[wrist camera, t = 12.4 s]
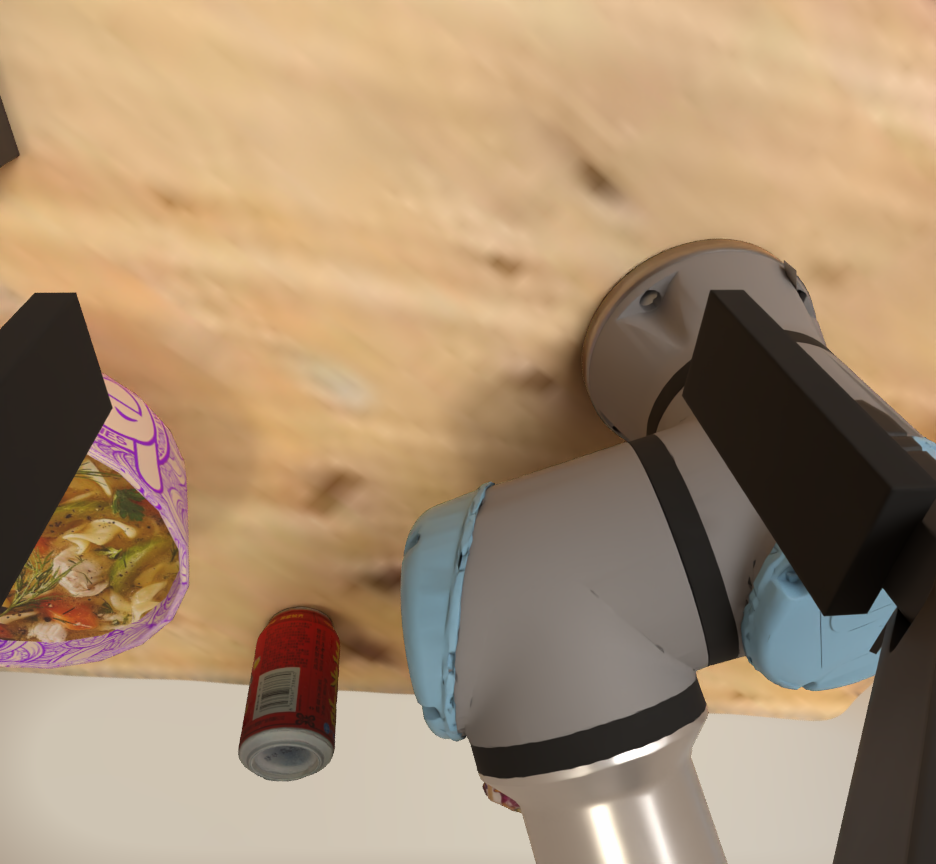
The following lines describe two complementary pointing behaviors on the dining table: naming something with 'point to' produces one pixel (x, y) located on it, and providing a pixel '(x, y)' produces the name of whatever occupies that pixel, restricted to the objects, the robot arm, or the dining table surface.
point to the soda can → (292, 697)
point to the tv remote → (6, 139)
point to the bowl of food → (105, 549)
